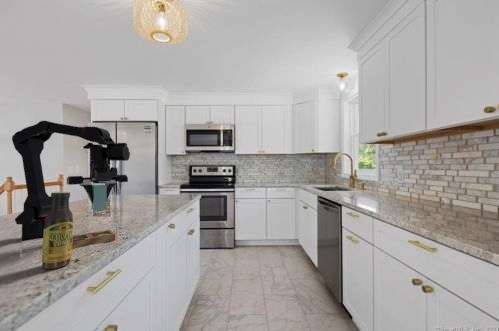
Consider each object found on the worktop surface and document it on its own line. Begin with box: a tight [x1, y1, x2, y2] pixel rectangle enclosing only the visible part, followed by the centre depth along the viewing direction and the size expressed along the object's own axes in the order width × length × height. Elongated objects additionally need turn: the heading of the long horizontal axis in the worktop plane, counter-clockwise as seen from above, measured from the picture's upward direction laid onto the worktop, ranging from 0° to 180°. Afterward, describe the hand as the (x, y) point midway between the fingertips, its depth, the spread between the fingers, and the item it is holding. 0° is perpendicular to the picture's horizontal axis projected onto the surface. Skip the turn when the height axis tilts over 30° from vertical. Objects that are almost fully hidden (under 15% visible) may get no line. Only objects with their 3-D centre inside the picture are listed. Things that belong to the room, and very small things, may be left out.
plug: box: [91, 184, 108, 211], centre depth 87 cm, size 4×4×9 cm
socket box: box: [72, 229, 116, 249], centre depth 81 cm, size 14×8×3 cm, turn 134°
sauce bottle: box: [41, 191, 74, 270], centre depth 63 cm, size 7×6×20 cm
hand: (99, 202), depth 87 cm, fingers closed on plug, 4 cm apart
